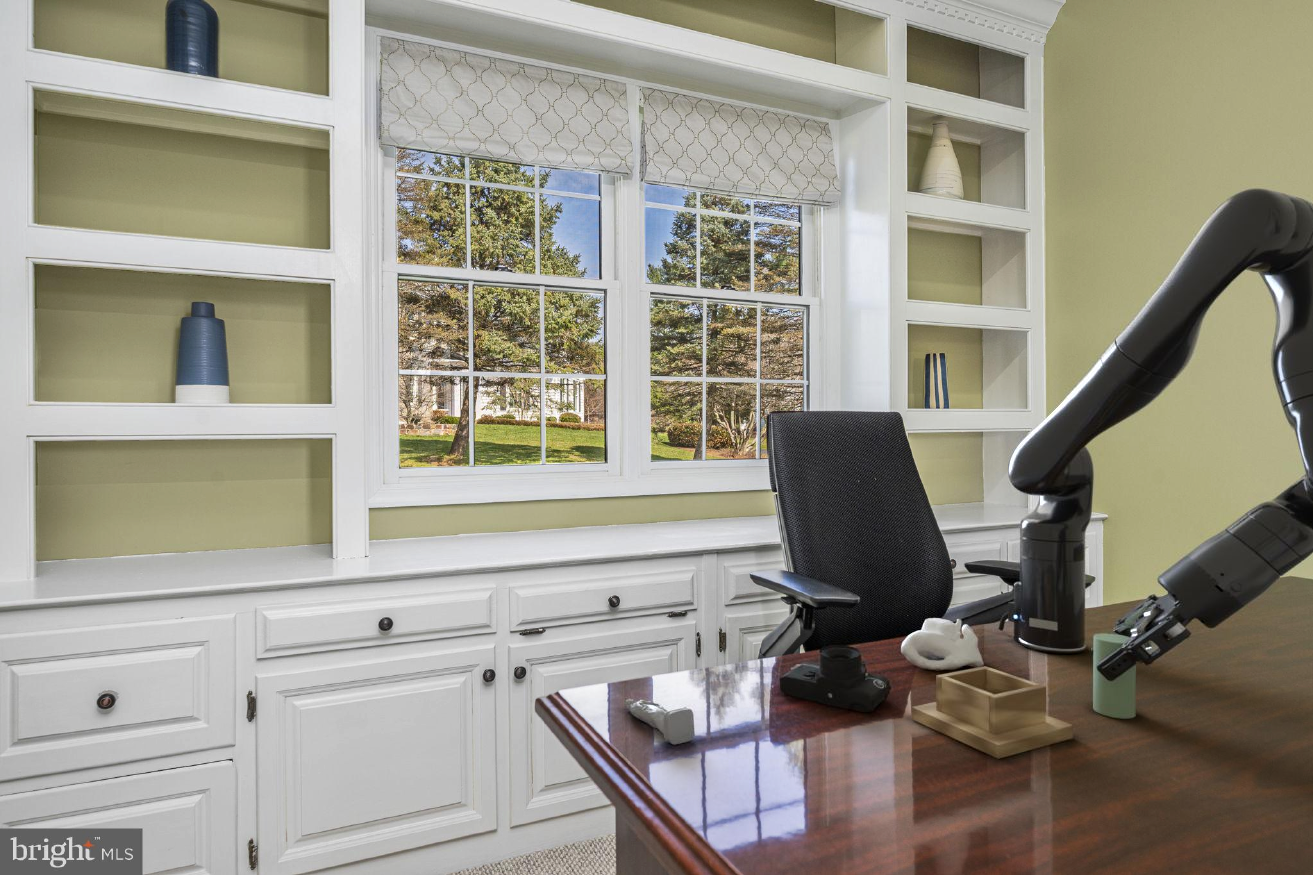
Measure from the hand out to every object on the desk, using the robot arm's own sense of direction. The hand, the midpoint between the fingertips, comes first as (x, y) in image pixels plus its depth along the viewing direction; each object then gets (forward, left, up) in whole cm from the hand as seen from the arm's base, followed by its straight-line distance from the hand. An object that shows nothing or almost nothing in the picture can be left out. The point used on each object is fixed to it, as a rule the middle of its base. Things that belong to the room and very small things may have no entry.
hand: (1099, 665), depth 91 cm
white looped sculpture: (-21, -3, -6) cm, 22 cm away
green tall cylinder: (+1, +1, -5) cm, 6 cm away
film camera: (-18, -26, -6) cm, 32 cm away
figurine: (-20, -51, -6) cm, 55 cm away
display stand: (-2, -17, -5) cm, 18 cm away
